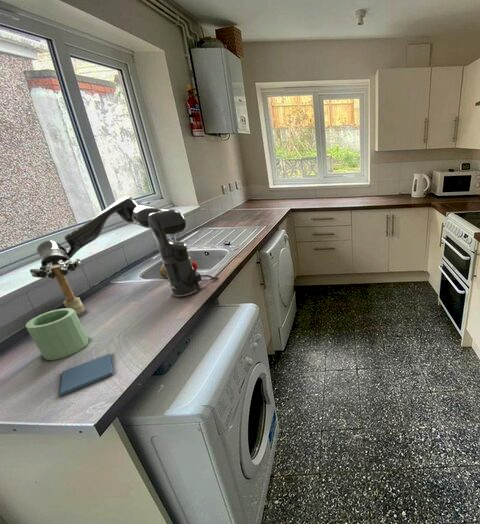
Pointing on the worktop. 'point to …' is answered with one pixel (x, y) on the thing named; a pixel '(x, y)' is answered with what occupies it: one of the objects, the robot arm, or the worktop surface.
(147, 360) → the worktop surface
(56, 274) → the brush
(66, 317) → the green pot
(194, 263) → the strawberry
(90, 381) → the mat
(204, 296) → the worktop surface
